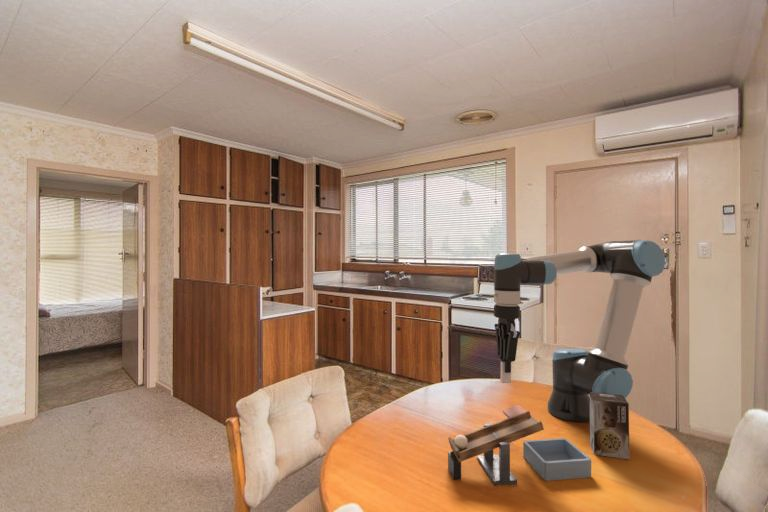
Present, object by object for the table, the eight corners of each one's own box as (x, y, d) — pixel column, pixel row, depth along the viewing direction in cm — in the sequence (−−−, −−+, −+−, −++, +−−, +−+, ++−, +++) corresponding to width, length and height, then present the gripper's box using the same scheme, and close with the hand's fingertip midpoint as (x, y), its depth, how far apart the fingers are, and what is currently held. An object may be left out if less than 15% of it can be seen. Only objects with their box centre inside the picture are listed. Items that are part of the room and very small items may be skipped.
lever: (518, 407, 112) (515, 398, 111) (545, 431, 97) (542, 420, 97) (444, 436, 109) (441, 426, 109) (460, 464, 94) (456, 453, 94)
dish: (565, 453, 108) (565, 437, 108) (592, 477, 97) (592, 459, 97) (522, 456, 107) (522, 440, 107) (544, 480, 95) (544, 463, 95)
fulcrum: (497, 457, 106) (497, 422, 106) (517, 483, 94) (517, 444, 94) (444, 461, 104) (444, 426, 104) (457, 488, 93) (457, 448, 92)
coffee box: (623, 449, 111) (623, 394, 111) (630, 460, 105) (630, 403, 104) (589, 444, 114) (589, 391, 113) (593, 454, 108) (593, 399, 107)
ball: (466, 443, 101) (463, 430, 101) (470, 450, 97) (468, 437, 97) (453, 446, 100) (451, 433, 100) (457, 453, 97) (455, 440, 97)
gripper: (486, 301, 119) (485, 375, 119) (503, 307, 106) (502, 390, 106) (509, 301, 120) (508, 375, 120) (528, 307, 107) (527, 389, 107)
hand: (505, 382), depth 113 cm, fingers closed
